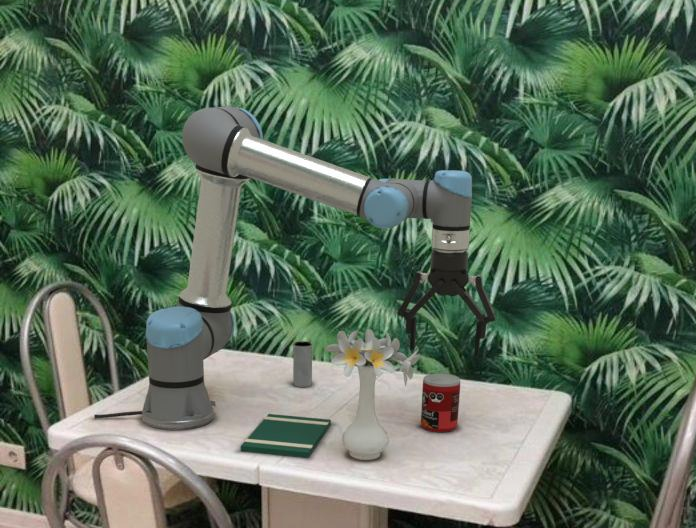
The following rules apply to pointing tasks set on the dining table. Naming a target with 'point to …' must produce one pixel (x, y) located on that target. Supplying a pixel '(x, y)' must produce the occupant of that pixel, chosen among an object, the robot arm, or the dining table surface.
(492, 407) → the dining table surface
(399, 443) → the dining table surface
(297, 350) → the grey cylinder
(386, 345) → the flower vase
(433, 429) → the canned food
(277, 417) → the towel
